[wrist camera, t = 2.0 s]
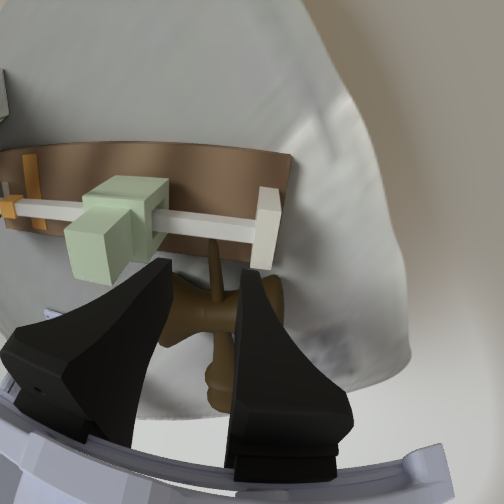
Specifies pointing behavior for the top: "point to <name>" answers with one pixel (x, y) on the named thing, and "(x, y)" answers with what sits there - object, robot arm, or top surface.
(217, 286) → the kendama
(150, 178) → the sleeve
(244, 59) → the top surface
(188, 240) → the board
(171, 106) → the top surface
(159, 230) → the linear slide rail
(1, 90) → the syrup box
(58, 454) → the robot arm
